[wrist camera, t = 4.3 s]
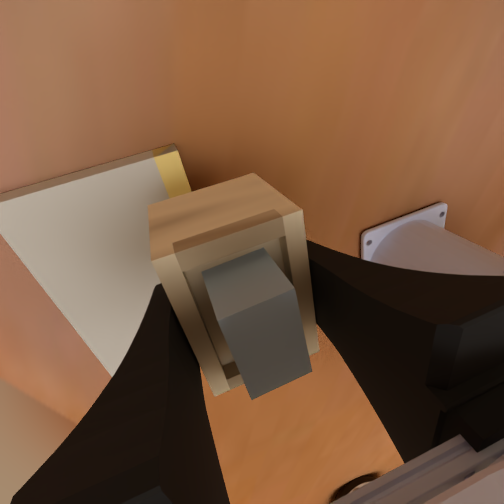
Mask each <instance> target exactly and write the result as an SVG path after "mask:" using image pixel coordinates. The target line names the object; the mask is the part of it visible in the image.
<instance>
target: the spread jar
mask: <svg viewBox="0 0 504 504" xmlns="http://www.w3.org/2000/svg"><path fill="white" fill-rule="evenodd" d="M375 479H377V478H375V477H372V476H362V477H359V478H356V479H354V480H352V481H351V482H349V483H348V484H346V485H345V486H344V487H342V488H341V489H340V490H339V492H338V493H337V495H336V499H335V501H336V500H338V499H339V498H341V497H343V496H345V495H347V494H349V493H351V492H353V491H354V490H356V489H358V488H360V487H362V486H364V485H366V484H367V483H369V482H371V481H373V480H375Z"/></svg>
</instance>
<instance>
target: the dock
mask: <svg viewBox="0 0 504 504" xmlns="http://www.w3.org/2000/svg"><path fill="white" fill-rule="evenodd" d="M189 192H192V191H191V188H190V185H189V182H188V179H187V176H186V173H185V170H184V168H183V165H182V162H181V159H180V156H179V153H178V150H177V148H176V147H175V145H174V144H170V145H167V146H164V147H160V148H157V149H153V150H150V151H146V152H143V153H139V154H136V155H132V156H129V157H126V158H122V159H119V160H115V161H112V162H108V163H105V164H101V165H98V166H94V167H91V168H88V169H84V170H81V171H77V172H74V173H70V174H67V175H63V176H60V177H57V178H53V179H50V180H46V181H43V182H39V183H36V184H32V185H29V186H25V187H22V188H19V189H15V190H12V191H8V192H5V193H1V194H0V234H1V235H2V236H3V238H4V239H5V240H6V241H7V243H8V244H9V245H10V247H11V248H12V249H13V250H14V252H15V253H16V254H17V256H18V257H19V258H20V259H21V261H22V262H23V263H24V264H25V266H26V267H27V268H28V270H29V271H30V272H31V273H32V275H33V276H34V277H35V279H36V280H37V281H38V282H39V284H40V285H41V286H42V288H43V289H44V290H45V291H46V293H47V294H48V295H49V297H50V298H51V299H52V300H53V302H54V303H55V304H56V306H57V307H58V308H59V309H60V311H61V312H62V313H63V315H64V316H65V317H66V318H67V320H68V321H69V322H70V323H71V325H72V326H73V327H74V329H75V330H76V331H77V332H78V334H79V335H80V336H81V338H82V339H83V340H84V341H85V343H86V344H87V345H88V347H89V348H90V349H91V350H92V352H93V353H94V354H95V356H96V357H97V358H98V359H99V361H100V362H101V363H102V365H103V366H104V367H105V368H106V370H107V371H108V372H109V374H110V375H111V376H112V377H113V375H114V374H115V372H116V370H117V369H118V367H119V366H120V364H121V362H122V360H123V359H124V357H125V355H126V353H127V351H128V349H129V347H130V345H131V343H132V341H133V339H134V337H135V335H136V333H137V331H138V329H139V326H140V324H141V322H142V319H143V317H144V314H145V312H146V309H147V307H148V304H149V301H150V299H151V296H152V293H153V290H154V288H155V286H156V285H157V284H160V283H161V281H160V279H159V277H158V275H157V273H156V271H155V269H154V266H153V264H152V262H151V252H150V236H149V220H148V205H150V204H154V203H157V202H160V201H163V200H166V199H170V198H173V197H176V196H179V195H183V194H186V193H189Z"/></svg>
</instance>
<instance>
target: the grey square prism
mask: <svg viewBox="0 0 504 504" xmlns="http://www.w3.org/2000/svg"><path fill="white" fill-rule="evenodd" d="M201 273H202V276H203V279H204V282H205V285H206V288H207V291H208V294H209V297H210V300H211V303H212V306H213V309H214V312H215V315H216V318H217V321H218V323H219V326H220V328H221V330H222V333H223V335H224V337H225V340H226V342H227V344H228V347H229V349H230V351H231V354H232V356H233V358H234V360H235V363H236V365H237V367H238V370H239V372H240V374H241V377H242V379H243V381H244V384H245V386H246V388H247V390H248V393H249V395H250V397H251V400H253V399H255V398H257V397H259V396H261V395H263V394H265V393H267V392H270V391H272V390H274V389H276V388H278V387H280V386H282V385H284V384H287V383H289V382H291V381H293V380H295V379H297V378H299V377H301V376H304V375H306V374H308V373H310V372H312V368H311V363H310V358H309V353H308V349H307V344H306V339H305V334H304V330H303V325H302V320H301V315H300V311H299V306H298V301H297V296H296V291H295V288H294V286H293V285H292V284H291V283H290V281H289V280H288V279H287V277H286V276H285V275H284V273H283V272H282V271H281V269H280V268H279V267H278V266H277V264H276V263H275V262H274V260H273V259H272V258H271V256H270V255H269V254H268V253H267V251H266V250H265V249H264V247H263V248H261V249H258V250H255V251H253V252H250V253H248V254H245V255H243V256H240V257H238V258H235V259H233V260H230V261H228V262H225V263H222V264H220V265H217V266H215V267H212V268H210V269H207V270H205V271H202V272H201Z"/></svg>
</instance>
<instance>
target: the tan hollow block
mask: <svg viewBox="0 0 504 504" xmlns="http://www.w3.org/2000/svg"><path fill="white" fill-rule="evenodd" d="M148 220H149V236H150V252H151V262H152V264H153V266H154V269H155V271H156V273H157V275H158V277H159V279H160V281H161V283H162V286H163V288H164V290H165V292H166V294H167V296H168V298H169V300H170V303H171V305H172V307H173V309H174V311H175V313H176V315H177V318H178V320H179V322H180V324H181V326H182V328H183V330H184V332H185V335H186V337H187V339H188V341H189V343H190V345H191V347H192V349H193V352H194V354H195V356H196V358H197V360H198V362H199V364H200V367H201V369H202V371H203V373H204V375H205V377H206V379H207V381H208V384H209V386H210V388H211V390H212V392H213V394H214V396H217V395H219V394H222V393H224V392H226V391H229V390H231V389H233V388H236V387H238V386H240V385H242V384H244V381H243V379H242V377H241V374H240V372H239V370H238V367H237V365H236V363H235V360H234V358H233V356H232V354H231V351H230V349H229V347H228V344H227V342H226V340H225V337H224V335H223V333H222V330H221V328H220V326H219V323H218V321H217V318H216V315H215V312H214V309H213V306H212V303H211V300H210V297H209V294H208V291H207V288H206V285H205V282H204V279H203V276H202V273H201V272H202V271H205V270H207V269H210V268H212V267H215V266H217V265H220V264H222V263H225V262H228V261H230V260H233V259H235V258H238V257H240V256H243V255H245V254H248V253H250V252H253V251H255V250H258V249H261V248H263V247H264V249H265V250H266V251H267V253H268V254H269V255H270V256H271V258H272V259H273V260H274V262H275V263H276V264H277V266H278V267H279V268H280V269H281V271H282V272H283V273H284V275H285V276H286V277H287V279H288V280H289V281H290V283H291V284H292V285H293V286H294V288H295V291H296V296H297V301H298V306H299V311H300V315H301V320H302V325H303V330H304V334H305V339H306V344H307V349H308V353H309V356H310V355H312V354H314V353H317V352H319V344H318V335H317V327H316V319H315V310H314V302H313V293H312V285H311V276H310V268H309V260H308V251H307V243H306V234H305V226H304V218H303V210H302V209H301V208H300V207H298V206H297V205H296V204H294V203H293V202H292V201H290V200H289V199H288V198H287V197H285V196H284V195H283V194H281V193H280V192H279V191H277V190H276V189H275V188H273V187H272V186H271V185H269V184H268V183H267V182H266V181H264V180H263V179H262V178H260V177H259V176H258V175H256V174H255V173H251V174H248V175H244V176H241V177H238V178H235V179H231V180H228V181H225V182H222V183H218V184H215V185H212V186H209V187H205V188H202V189H199V190H196V191H192V192H189V193H186V194H183V195H179V196H176V197H173V198H170V199H166V200H163V201H160V202H157V203H154V204H150V205H148Z"/></svg>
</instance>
